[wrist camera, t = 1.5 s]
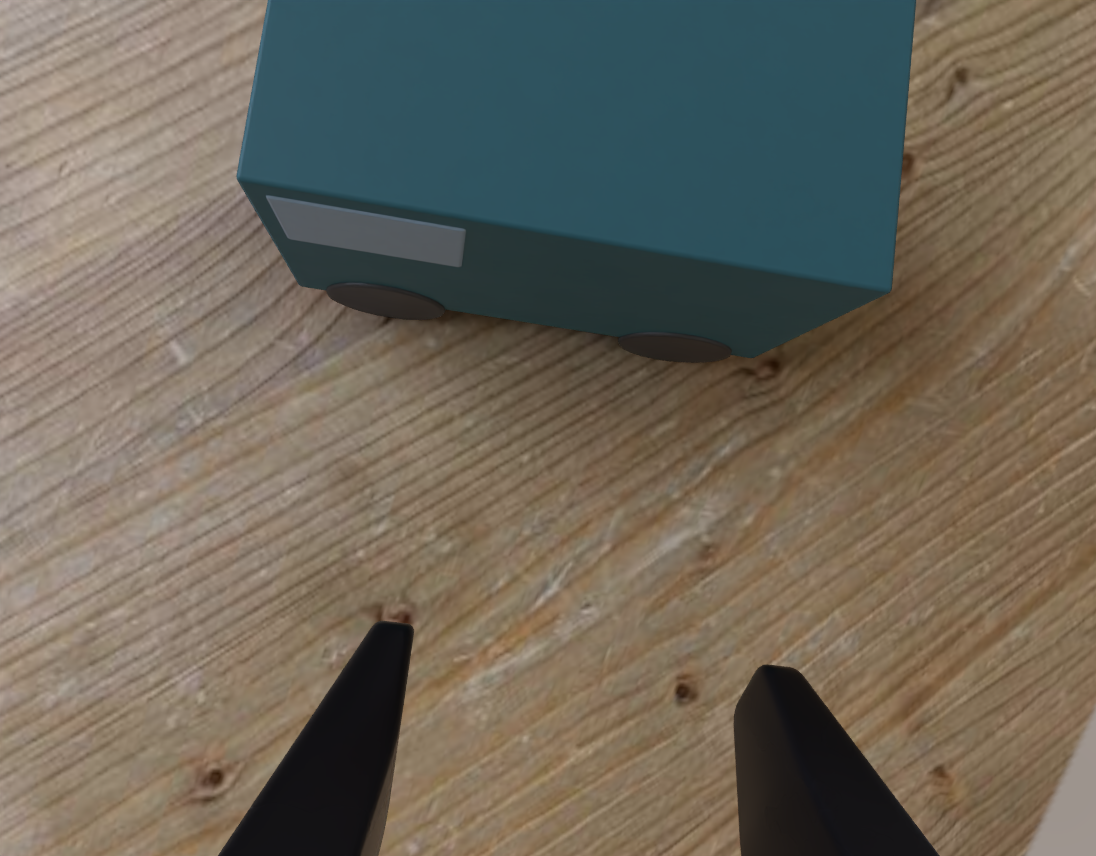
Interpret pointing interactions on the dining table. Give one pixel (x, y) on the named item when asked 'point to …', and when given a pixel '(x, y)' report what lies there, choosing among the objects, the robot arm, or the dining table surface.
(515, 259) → the toy van
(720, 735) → the dining table surface
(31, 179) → the dining table surface
